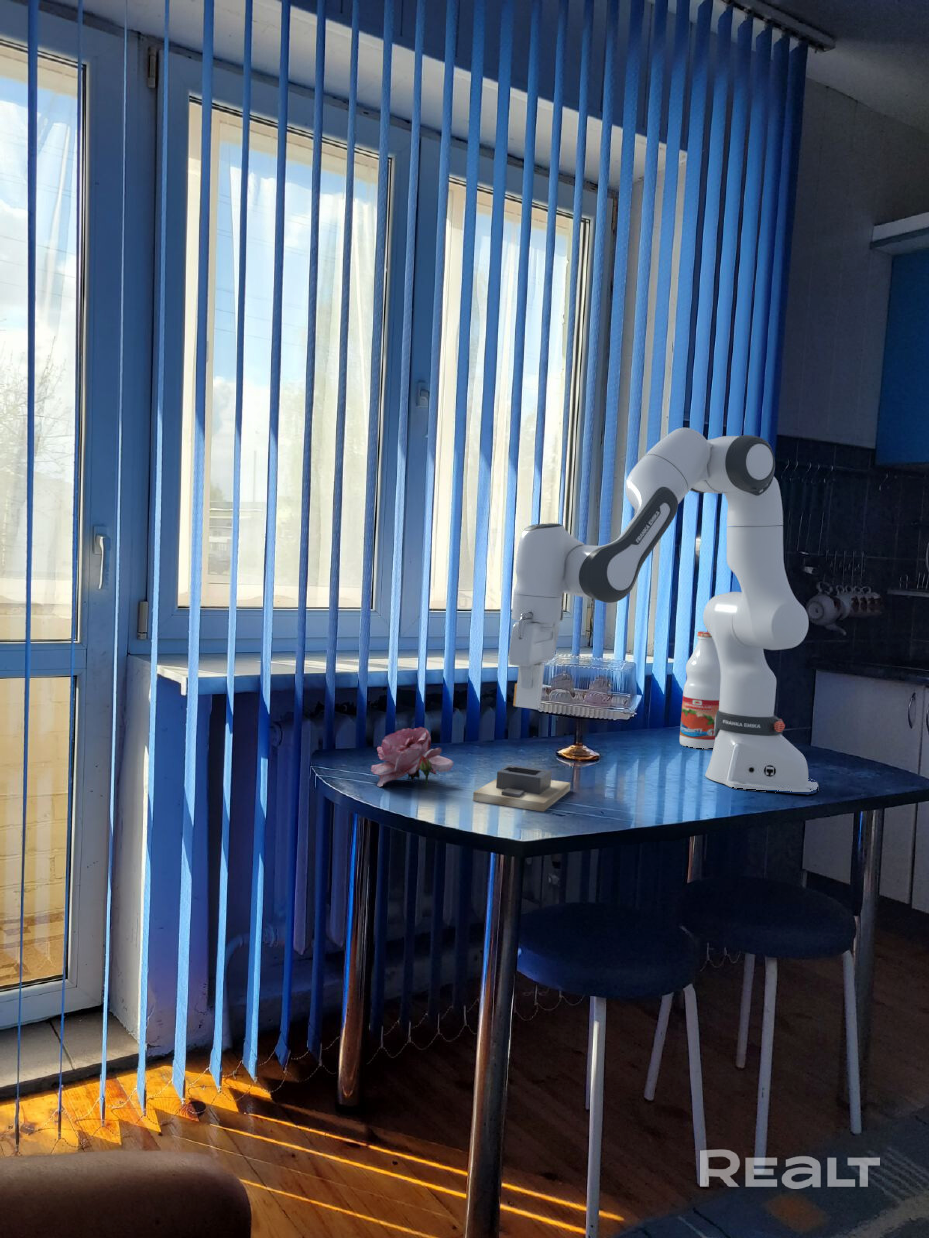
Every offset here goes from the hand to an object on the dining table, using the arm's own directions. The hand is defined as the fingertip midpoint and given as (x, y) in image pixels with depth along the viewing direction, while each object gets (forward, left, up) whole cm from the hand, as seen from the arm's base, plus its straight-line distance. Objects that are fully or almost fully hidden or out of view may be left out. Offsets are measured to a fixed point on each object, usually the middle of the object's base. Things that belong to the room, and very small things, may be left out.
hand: (530, 686), depth 184 cm
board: (0, +1, -20) cm, 20 cm away
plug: (0, 0, -4) cm, 4 cm away
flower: (+21, +5, -20) cm, 29 cm away
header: (0, +1, -18) cm, 18 cm away
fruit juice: (-22, -73, -20) cm, 79 cm away
